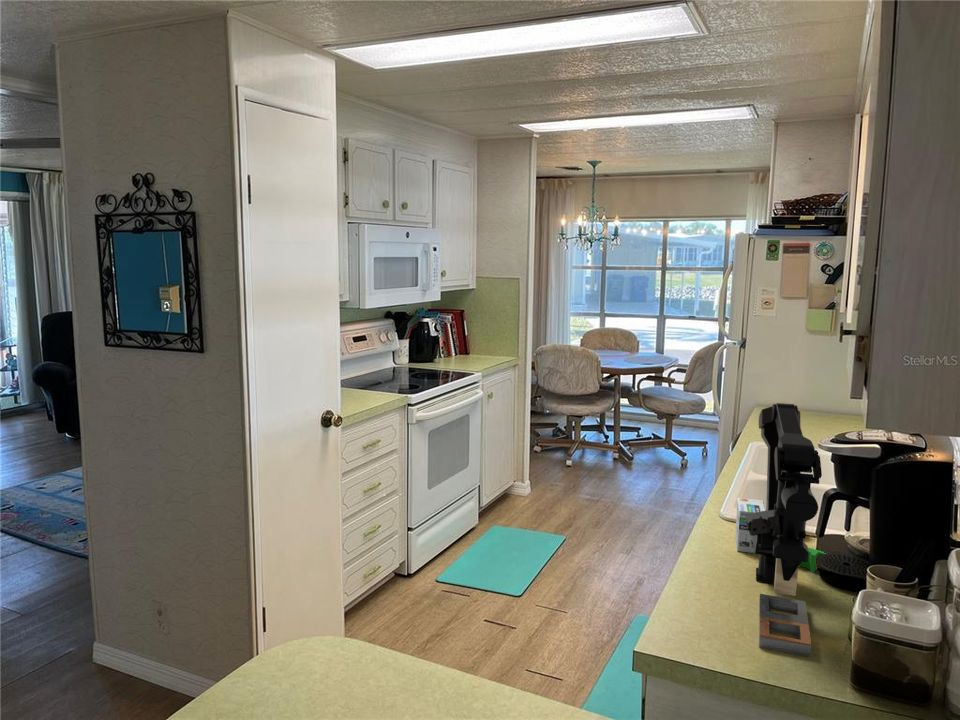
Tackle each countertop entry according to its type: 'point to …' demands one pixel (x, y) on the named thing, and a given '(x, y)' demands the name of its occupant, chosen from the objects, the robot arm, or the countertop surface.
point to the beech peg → (783, 585)
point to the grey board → (784, 625)
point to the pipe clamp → (811, 559)
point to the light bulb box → (742, 533)
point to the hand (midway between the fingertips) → (785, 575)
